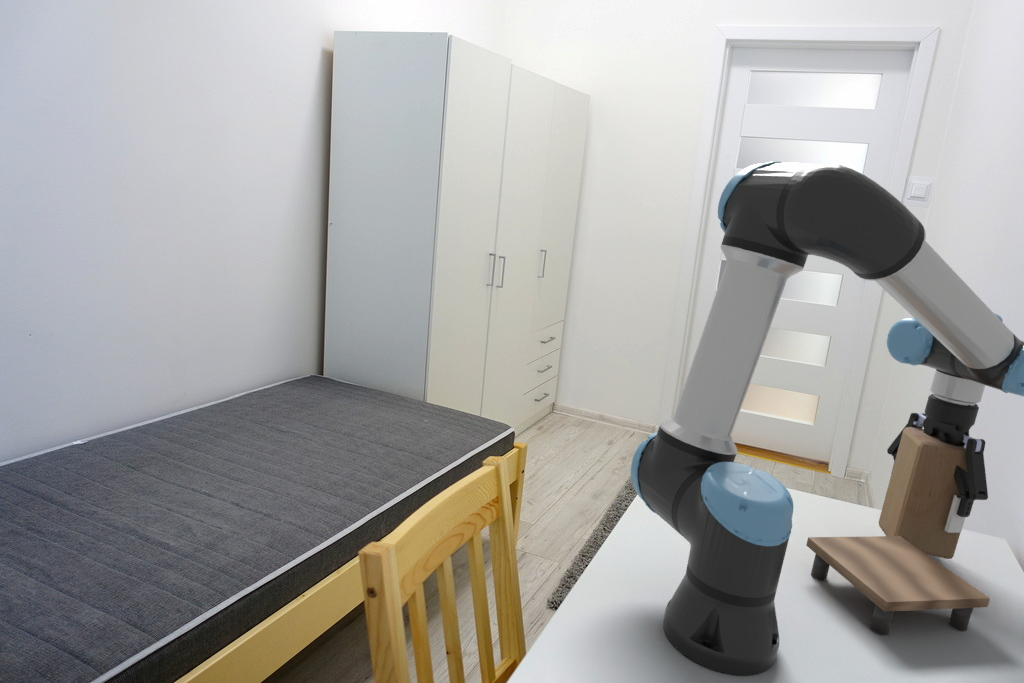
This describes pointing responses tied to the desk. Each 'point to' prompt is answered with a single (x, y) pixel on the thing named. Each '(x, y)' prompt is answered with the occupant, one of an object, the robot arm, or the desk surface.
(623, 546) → the desk surface
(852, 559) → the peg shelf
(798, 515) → the desk surface
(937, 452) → the wooden block
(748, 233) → the robot arm
